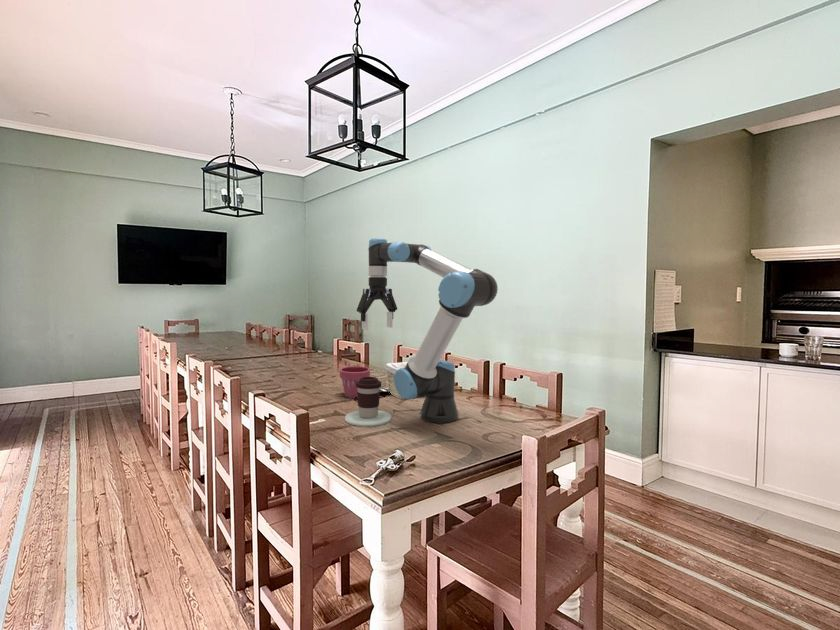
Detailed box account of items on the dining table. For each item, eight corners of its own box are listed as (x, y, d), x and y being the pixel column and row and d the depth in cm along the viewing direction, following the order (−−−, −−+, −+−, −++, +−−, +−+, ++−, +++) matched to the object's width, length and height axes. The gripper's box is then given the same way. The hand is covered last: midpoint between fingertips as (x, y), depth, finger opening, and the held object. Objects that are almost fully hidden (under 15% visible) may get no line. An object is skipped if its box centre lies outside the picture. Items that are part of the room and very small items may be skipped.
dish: (370, 409, 188) (370, 406, 187) (400, 419, 175) (400, 416, 175) (335, 419, 174) (335, 415, 174) (365, 430, 162) (365, 426, 162)
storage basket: (398, 400, 203) (398, 368, 202) (384, 392, 217) (384, 362, 216) (443, 395, 214) (443, 364, 213) (427, 387, 228) (427, 359, 227)
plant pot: (371, 398, 205) (372, 371, 204) (341, 400, 202) (341, 372, 201) (367, 391, 219) (367, 365, 218) (338, 392, 215) (338, 366, 214)
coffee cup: (383, 412, 179) (383, 376, 178) (378, 420, 169) (378, 381, 168) (359, 411, 180) (359, 375, 179) (352, 419, 170) (353, 380, 169)
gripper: (393, 277, 194) (393, 325, 195) (347, 276, 175) (347, 329, 177) (405, 277, 188) (405, 327, 190) (359, 276, 170) (359, 331, 172)
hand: (377, 328), depth 184 cm, fingers open, 13 cm apart
